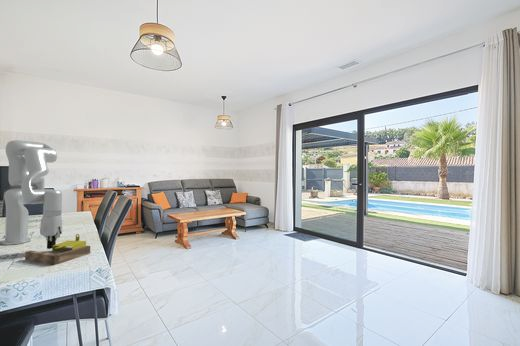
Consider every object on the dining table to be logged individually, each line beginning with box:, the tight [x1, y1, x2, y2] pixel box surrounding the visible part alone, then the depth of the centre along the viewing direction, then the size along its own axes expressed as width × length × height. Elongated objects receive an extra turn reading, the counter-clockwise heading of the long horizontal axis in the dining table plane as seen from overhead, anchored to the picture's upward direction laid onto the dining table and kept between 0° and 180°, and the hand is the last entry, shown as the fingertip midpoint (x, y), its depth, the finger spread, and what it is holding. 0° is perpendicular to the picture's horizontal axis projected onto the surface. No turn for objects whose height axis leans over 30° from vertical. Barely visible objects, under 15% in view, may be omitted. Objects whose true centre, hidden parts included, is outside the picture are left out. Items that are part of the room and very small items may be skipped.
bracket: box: [51, 233, 87, 253], centre depth 134 cm, size 16×8×15 cm
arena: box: [24, 245, 91, 266], centre depth 124 cm, size 19×18×4 cm
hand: (51, 248), depth 132 cm, fingers closed
